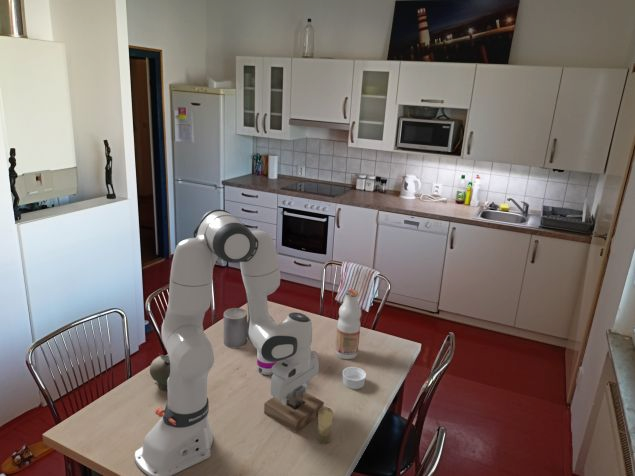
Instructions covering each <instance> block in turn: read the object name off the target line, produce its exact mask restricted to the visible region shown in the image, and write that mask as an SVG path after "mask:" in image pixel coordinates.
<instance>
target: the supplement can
mask: <svg viewBox="0 0 635 476" xmlns="http://www.w3.org/2000/svg"><path fill="white" fill-rule="evenodd" d="M256 350H257V349H256ZM256 352H257V353H256V369H257V370H256V371H257V372H259V374H261V375H265V376H270V375H271V376H272V375H273V374H274V373H273V372H272V366H273V365H274V364H275V363H276V362H269V361H267V360H265V359H264V358H263V357H262V355H261V354H260V353H259V351H258V350H257V351H256Z"/></svg>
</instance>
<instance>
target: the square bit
mask: <svg viewBox="0 0 635 476" xmlns="http://www.w3.org/2000/svg"><path fill="white" fill-rule="evenodd" d="M303 391H304V387H303V386H302V385H301V386H300V387H298V388H297V389H295V390H294V391H292V392H290V393H289V394H287V397H286V398H288V399H289V401H288V402H289V403H288V404H286V405H287V406H289V407H291V408H292V409H294V410H296V409H297V408H299V407H300V406H302V405H303Z"/></svg>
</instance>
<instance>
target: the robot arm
mask: <svg viewBox="0 0 635 476" xmlns="http://www.w3.org/2000/svg"><path fill="white" fill-rule="evenodd" d="M275 246H276V245H275V243H274V240H273V238H272V236H271V235H270V234H269V232H266V231H265V230H259V229H257V230H256V229H255V230H250V229H249V228H248V227H247V225H245V224H244V223H243V222H242V221H241V220H240V219H239V218H238V217H237V216H235V215H233V214H232V213H230V212H229V211H227V210H225V209H220V208H219V209H217V208H215V209H211V210H209V211H207V212H206V213H205V214H204V215H203V216H202V217H201V218H200V221H199V223H198V224H197V226H196V228H195V230H193V237H189V238H186V239H183V240H181V241H179V242H178V244H176V246H175V249H174V253H173V255H172V256H173V257H172V261H171V267H170V268H171V269H170V274H169V275H170V276H169V289H168V290H169V291H168V302H167V303H168V305H167V309H166V313H165V317H164V320H163V321H162V324H161V339H162V343H163V345H164V347H165V349H166V353H167V356H169V359H170V376H169V378H168V380H167V402H166V404H165V407H164V409H163V408H161V407H157V408H156V409H155V411H154V412H155V415H157V416H158V417H159V418H160V419H159V420H158V421H157V422H156V424H155V425H154V426H153V427H152V428H151V429H150V430H149V432H148V433H147V434H146V435H145V436H144V439H143V445H142V446H141V447H140V448H138V449H137V450H136V451H135V452H134V461H135V464H136V465H137V467H138V468H139V469H140V471H142V472H143V473H144V474H146V475H147V476H174V475H176V474H177V473H180V472H181V471H184V470H185V469H188V468H190V467H193V466H194V465H196V464H198V463H200V462H203V461H204V460H207V459H208V458H210V457H211V452H212V451H211V448H212V445H213V441H214V438H213V434H212V431H211V428H210V423H209V411H210V409H209V407H210V405H209V398H208V374H209V372H210V371H211V369H212V368H213V366H214V363H215V356H214V350H213V346H212V344H211V342H210V340H209V338H208V337H207V336H206V333H205V330H204V326H203V322H204V318H205V314H206V312H207V311H208V310H209V308H210V307H211V300H212V286H213V276H214V275H213V274H214V273H213V272H214V270H213V269H214V267H215V264H216V262H217V260H218V259H220V260H222V261H224V262H226V263H232V264H235V263H239V265H240V266H239V267H240V271H241V272H240V273H241V277H242V282H243V285H244V288H245V295H246V302H247V305H246V306H247V325H246V336H247V340H248V341H250V343H251V344H253V346H254V347H255V349H256V350H258V351H259V353H260V354H261V355H262V357H263V358H264V359H265V360H267V361H269V362H276V363H275V364H274V365H273V366H272V372H273V373H274V374H271V378H270V386H269V387H270V390H269V391H270V395H271V396H272V398H273V397H275V398H277V399H282V404H283V405H286V404H288V403H289V402H288V401H289V399H288V398H286V397H287V394H289V393H290V392H292V391H294V390H295V389H297V388H298V387H300V386H303V387H304V391H303V392H308V386H309V384H310V382H311V379H313V378H315V377H316V376H317V375H318V374H319V358H318V352H317V351H315V350H311V345H312V342H313V323H312V320H311V319H310V317H308V316H307V315H306V314H303V313H300V312H290V313H288V315H287V316H286V318H285V319H284V320H282V321H281V322H279V324H278V323H276V321H275V320H274V319H273V317H272V316H271V315H270V313H269V306H268V305H269V303H268V296H269V295H271V294H273V293H275V292H276V291H277V290H278V288H279V287H280V284H281V270H280V269H281V268H280V263H279V257H278V253H277V249H276V247H275Z"/></svg>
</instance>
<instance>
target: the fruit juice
mask: <svg viewBox="0 0 635 476" xmlns="http://www.w3.org/2000/svg"><path fill="white" fill-rule="evenodd" d="M358 296H359V292H358V291H357V290H356V289H347V290H346V291H345V298H344V301H343V303H342V304H341V305H340V307H339V309H338V315H339V317H338V320H337V323H336V324H337V325H336V336H335V347H334V349H335V350H334V352H335V353H334V354H335V355H336V356H337V357H338V358H340V359H343V360H353V359H355V358H356V357H357V356H358V352H359V344H360V333H361V320H360V319H361V317H362V309H361V307H360V305H359V301H358Z"/></svg>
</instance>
